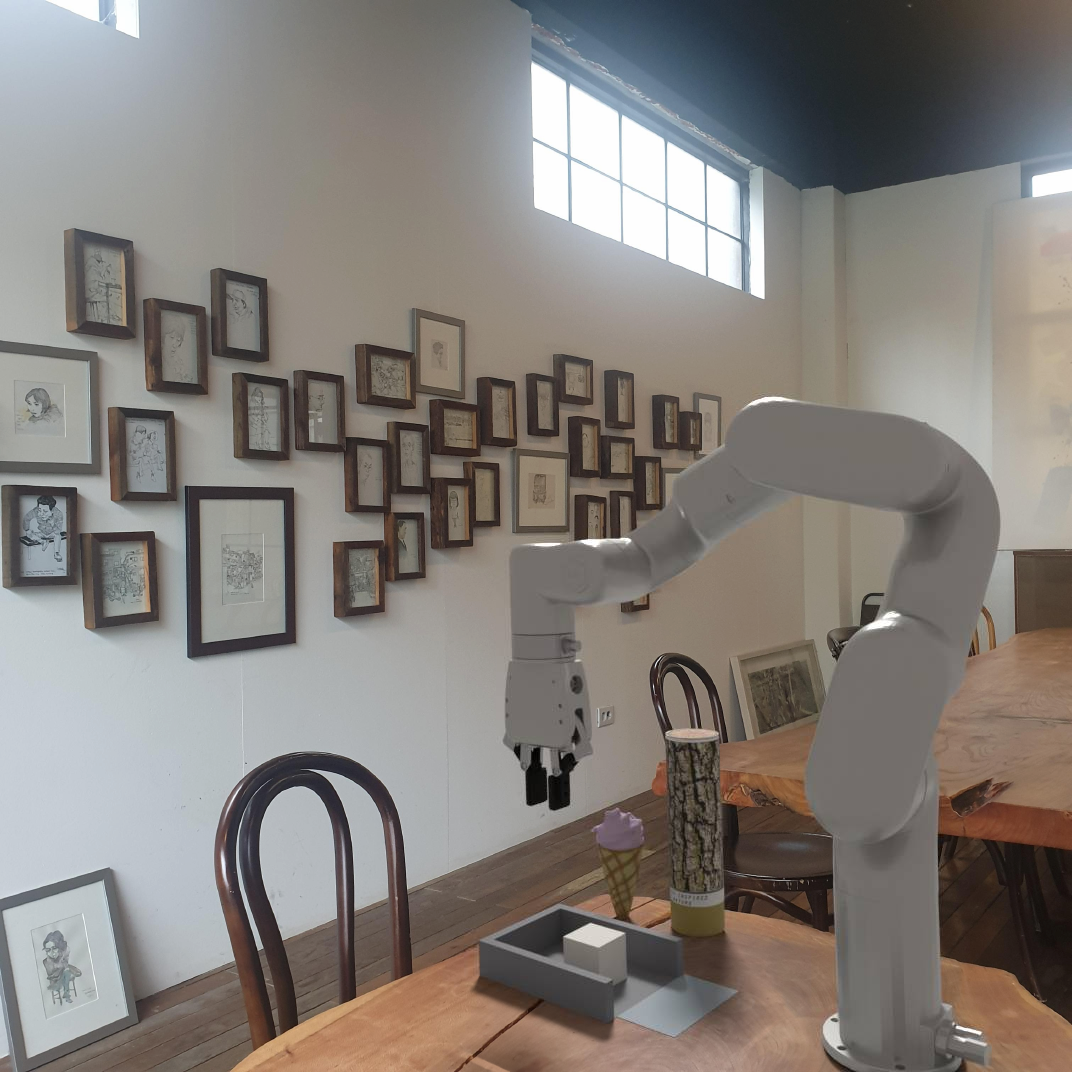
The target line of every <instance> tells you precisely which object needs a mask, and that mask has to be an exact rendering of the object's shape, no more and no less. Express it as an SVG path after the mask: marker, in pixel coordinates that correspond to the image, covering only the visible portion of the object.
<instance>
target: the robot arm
mask: <svg viewBox="0 0 1072 1072" xmlns="http://www.w3.org/2000/svg"><path fill="white" fill-rule="evenodd" d="M981 465H982V464H980V463H979V462H978V461H977V460H976V458H975V457H973V455H972V454H970V452H968V451H967V450H966V449H965V448H964V447H963V446H962V445H961V444H960V443H958V442H957V441H955V440H954V439H953V438H951V437H950V436H948V435H947V434H946V433H944V432H943V431H941V430H939V429H937V428H935V427H933V426H931V425H928V424H926V423H923V422H922V421H920V420H917V419H915V418H912V417H909V416H904V415H899V414H894V413H887V412H880V411H873V410H866V409H859V408H858V409H857V408H852V407H845V406H837V405H830V404H822V403H815V402H810V401H803V400H800V399H799V400H798V399H794V398H793V399H792V398H787V397H781V396H770V397H763V398H761V399H760V398H759V399H757V400H754V401H751V402H750V403H749V404H747V405H745V406H744V407H743V408H742V409H740V410H739V411H738V412H737V413H736V414H735V416H734V417H733V419H732V420H731V421H730V422H729V425H728V427H727V429H726V433H725V438H724V443H723V444H722V445H720V446H718V448H716V449H714V450H712V452H710V453H709V454H706V456H703V457H702V458H701V459H699V460H698V461H696V462H695V463H693V464H691V465H690V466H688V467H686V469H685V468H684V469H683V470H682V471H681V472H679V473H678V475H676V477H675V478H674V480H673V483H672V495H671V497H670V500H669V502H668V503H667V504H666V505H665V507H664V508H663V509H662V510H660V511H659V512H658V513H657V514H656V515H654V516H653V517H652V518H650V519H649V520H647V521H646V522H644V523H643V524H641V525H639V527H637V528H635V529H633V530H632V531H630V532H629V533H627V534H625V535H623V536H622V537H619V538H598V539H597V538H596V539H592V538H591V539H581V540H574V541H570V542H564V543H561V542H535V543H533V542H532V543H523V544H517V545H515V546H514V547H513V548H512V549H511V551H510V554H509V562H508V563H509V564H508V565H509V569H508V570H509V571H508V572H509V597H510V598H509V599H510V629H511V630H510V634H511V635H510V636H511V638H510V640H511V659H509V661H508V666H507V673H506V679H505V681H506V682H505V691H504V692H505V694H504V725H505V733H504V735H503V738H502V743H503V745H505V746H506V747H507V748H508V749H509V750H511V752H513V754H514V755H515V757H516V759H517V760H518V762H519V766H520V769H521V770H522V771H523V772H524V774H525V775H524V776H525V777H524V778H525V779H524V780H525V804H526V805H527V806H528V807H534V806H537V805H539V804H543V803H545V802H547V801H548V809H549V810H550V811H553V812H555V811H558V810H561V809H564V808H567V807H568V808H569V806H570V805H571V773H573V772H574V771H575V767H576V766H577V765H578V764H579V763H580V761H581V760H584V759H586V758H588V757H590V756H592V755H593V754H594V749H593V747H592V744H591V740H592V736H593V735H592V734H593V730H592V729H593V727H592V712H591V702H590V693H589V686H588V681H587V676H586V671H585V668H584V664H583V661H582V660H581V659H577V653H579V652H580V651H581V650H582V642H581V640H579V639H576V616H575V615H576V614H575V613H576V611H575V610H576V609H575V607H580V608H581V607H583V608H592V607H593V608H594V607H600V606H607V605H611V604H612V605H613V604H623V603H629V602H632V601H635V600H637V599H640V598H642V597H644V596H647V595H648V594H649V593H651V592H653V591H655V590H656V589H658V588H660V587H661V586H663V585H665V584H666V583H667V582H669V581H671V580H673V579H675V578H676V577H678V576H679V575H681V574H683V573H684V572H686V571H688V570H689V569H690V568H692V567H693V566H694V565H696V564H697V563H699V561H700V560H702V559H703V558H704V557H705V556H707V555H708V554H709V553H711V552H712V551H714V550H715V548H717V546H718V545H719V544H720V543H722V542H723V541H724V540H726V539H727V538H730V537H731V536H733V535H734V534H736V533H737V532H739V531H741V530H742V529H744V528H745V527H747V526H749V525H750V524H752V523H754V522H755V521H756V520H759V519H761V517H763V516H765V515H767V514H768V513H770V512H772V511H773V510H775V509H776V508H778V507H780V506H782V505H783V504H785V503H786V502H788V501H790V500H791V499H793V498H795V497H797V496H798V495H803V496H807V497H812V498H818V499H821V500H822V499H823V500H827V501H833V502H837V503H838V502H839V503H843V504H848V505H853V506H854V505H855V506H858V507H863V508H868V509H873V510H878V511H883V512H892V513H894V512H895V513H896V512H897V513H900V514H901V515H902V518H903V526H904V527H903V534H902V538H901V541H900V543H899V546H898V548H897V551H896V553H895V556H894V559H893V561H892V563H891V567H890V571H889V572H890V573H889V576H888V581H887V584H886V588H885V592H884V594H883V595H882V596H883V597H882V599H881V602H880V606H879V608H878V611H877V614H876V616H875V619H874V621H872V622H870V623H867V624H866V625H864V626H863V627H861V628H860V629H859V630H857V631H856V632H855V633H854V634H853V635H852V636H851V637H850V638H849V639H848V641H847V642H846V643H845V645H844V647H843V649H842V650H841V652H840V654H839V657H838V659H837V660H836V663H835V666H834V668H833V672H832V675H831V678H830V681H829V684H828V688H827V692H826V695H825V697H824V698H825V699H824V702H823V704H822V708H821V711H820V715H819V719H818V722H817V726H816V728H815V733H814V736H813V739H812V743H811V746H810V749H809V753H808V756H807V761H806V765H805V769H804V778H803V787H804V794H805V798H806V802H807V806H808V807H809V809H810V812H811V814H812V815H813V817H814V819H815V820H816V821H817V823H818V824H819V825H820V826H821V827H822V828H823V829H824V830H825V831H826V832H827V833H829V834H830V835H832V836H833V839H832V870H833V873H832V874H833V875H832V876H833V880H832V881H833V882H832V884H833V885H832V886H833V914H834V917H833V919H834V941H835V942H834V946H835V947H834V948H835V969H836V971H835V977H836V1004H837V1005H836V1006H837V1012H836V1013H834V1014H832V1015H830V1016H828V1018H827V1019H826V1020H825V1021H823V1022H824V1023H823V1024H822V1026H821V1041H822V1046H823V1047H824V1050H825V1051H826V1053H828V1054H829V1055H830V1056H831V1058H833V1060H834V1061H836V1062H838V1063H839V1064H841V1065H842V1066H843V1067H846V1068H847V1069H850V1070H851V1071H853V1072H956V1071H957V1070H959V1068H960V1066H961V1065H962V1060H963V1059H964V1060H965V1061H966V1062H970V1063H972V1064H975V1065H979V1066H982V1067H986V1068H987V1067H988V1066H989V1064H990V1059H991V1045H990V1044H989V1043H988V1042H985V1034H984V1032H983V1031H982V1030H977V1029H974V1028H970V1027H964V1026H961V1025H959V1023H958V1022H957V1021H956V1020H955V1021H954V1018H953V1015H954V1014H953V1012H954V1011H953V1005H951V1004H948V1003H945V1002H944V1003H943V1000H942V999H943V997H942V995H943V994H942V993H943V992H942V971H941V970H942V969H941V968H942V967H941V944H940V943H941V941H940V940H941V939H940V917H939V916H940V913H939V888H940V887H939V867H938V865H939V863H938V862H939V861H938V860H939V859H938V854H939V852H938V837H939V835H938V834H939V833H938V832H939V831H938V829H939V827H938V826H939V809H940V808H939V806H940V805H939V804H940V803H939V802H940V773H939V766H938V763H937V759H936V756H935V753H934V751H933V749H932V748H933V744H934V741H935V738H936V735H937V731H938V728H939V725H940V722H941V720H942V717H943V713H944V710H945V709H946V708H945V707H946V706H947V705H948V704H949V703H950V702H951V701H952V700H953V699H954V698H955V696H956V695H957V694H958V692H959V690H960V689H961V687H962V684H963V681H964V676H965V671H966V666H967V661H968V658H969V653H970V651H971V646H972V643H973V639H974V636H975V632H976V629H977V627H978V622H979V619H980V617H981V613H982V610H983V605H984V603H985V602H984V601H985V598H986V593H987V590H988V586H989V583H990V579H991V577H992V576H991V575H992V572H993V568H994V565H995V562H996V557H997V553H998V549H999V548H998V547H999V543H1000V537H1001V511H1000V510H1001V509H1000V505H999V501H998V500H999V499H998V496H997V494H996V493H997V492H996V491H995V487H994V485H993V483H992V481H991V479H990V477H989V475H988V474H987V472H986V470H985V469H984V468H983V467H982V466H981ZM576 652H577V653H576ZM573 744H574V747H573ZM544 749H549V755H550V768H551V774H550V775H548V770H547V767H546V766H543V764H544Z"/></svg>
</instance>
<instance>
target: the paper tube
mask: <svg viewBox="0 0 1072 1072" xmlns="http://www.w3.org/2000/svg"><path fill="white" fill-rule="evenodd" d="M664 737H665V740H664V741H665V746H664V747H665V775H666V776H665V777H666V778H665V779H666V780H665V781H666V803H667V804H666V805H667V808H666V809H667V810H666V811H667V835H668V837H667V838H668V839H667V841H668V873H669V874H668V875H669V898H670V926H671V928H672V929H673V931H675V932H676V933H679V934H681V935H683V936H687V937H692V938H693V937H694V938H706V937H707V938H708V937H714V936H717V935H719V934H722V933H723V932H724V930H725V927H726V922H725V921H726V918H725V917H726V915H725V914H726V913H725V883H724V882H725V880H724V878H725V877H724V851H723V850H724V849H723V848H724V846H723V826H722V825H723V819H722V815H723V814H722V786H721V785H722V784H721V758H720V757H721V756H720V755H721V754H720V752H721V751H720V736H719V732H718V731H715V730H712V729H706V728H678V729H672V730H668V731H666V732H665V736H664Z"/></svg>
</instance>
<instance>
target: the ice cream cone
mask: <svg viewBox="0 0 1072 1072" xmlns="http://www.w3.org/2000/svg"><path fill="white" fill-rule="evenodd" d="M604 815H605V817H603V822H602V823H600V824H598V825H594V826H593V828H592V829H590V831H591V832H592V833H594V832H596V833H597V834H596V837H595V839H596V845H597V848H598V852H599V854H598V855H599V859H600V861H601V867H602V870H603V875H604V879H605V882H606V886H607V889H608V893H609V896H610V900H611V903H612V907H613V909H614V913H615V916H616V918H617V920H619V919H620V920H626V919H629V918H630V914H631V910H632V906H633V901H634V899H635V898H634V897H635V893H636V888H637V883H638V879H639V873H640V868H641V863H642V858H643V856H642V855H643V849H644V841H645V838H644V827H643V820H642V819H641V818H637V817H635V815H633V814H632V812H630V811H628V812H627V813H626V812H622V811H621V810H620V808H619V807H616V808H615V809H613V810H607V811H605V812H604Z"/></svg>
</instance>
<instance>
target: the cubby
mask: <svg viewBox="0 0 1072 1072" xmlns="http://www.w3.org/2000/svg"><path fill="white" fill-rule="evenodd" d="M589 923H592V924H596V925H599V926H603V927H606V928H610V929H613V930H617V931H620V932H623V933H626V962H627V978H626V979H624V980H622V981H621V982H619V983H617V984H616V985H614V986H613V979H610V978H607V977H604V976H601V975H598V974H595V973H592V972H589V971H586V970H583V969H580V968H577V967H574V966H571V965H568V964H565V963H564V948H563V937H564V936H566V935H568V934H570V933H572V932H573V931H575V930H577V929H579V928H581V927H583V926H585V925H587V924H589ZM683 940H684V939H683V938H682V937H680V936H675V935H671V934H670V933H666V932H661V931H658V930H654V929H651V928H648V927H644V926H641V925H637V924H633V923H630V922H626V921H622V920H619V919H615V918H611V917H609V916H605V915H601V914H598V913H595V912H591V911H588V910H587V911H586V910H584V909H580V908H575V907H573V906H570V905H566V904H562V903H557V904H554V905H553V906H551V907H548V908H547V909H544V910H541V911H540V912H537V913H535V914H533V915H531V916H528V917H526V918H524V919H523V920H520V921H518V922H516V923H514V924H510V925H508V926H507V927H504V928H503V929H501V930H498V931H496V932H494V933H492V934H490V935H488V936H485V937H483V938H480V939H478V963H479V964H478V966H479V968H478V969H479V977H481V978H484V979H487V980H489V981H493V982H494V983H497V984H500V985H503V986H506V987H508V988H511V989H513V990H516V991H520V992H521V993H525V994H527V995H530V996H531V997H535V998H538V999H541V1000H544V1001H546V1002H549V1003H551V1004H554V1005H556V1006H559V1007H562V1008H564V1009H567V1010H570V1011H573V1012H575V1013H578V1014H580V1015H583V1016H586V1017H589V1018H591V1019H593V1020H597V1021H599V1022H602V1023H604V1024H608V1023H610V1022H612V1021H613V1020H615V1019H616V1018H618V1019H621V1020H623V1021H626V1022H629V1023H632V1024H635V1025H638V1026H641V1027H643V1028H645V1029H649V1030H652V1031H653V1032H657V1033H659V1034H662V1035H664V1036H665V1035H666V1036H668V1037H670V1038H674V1039H675V1038H677V1037H678V1036H679V1035H681V1034H682V1033H683V1032H685V1031H687V1030H688V1029H689V1028H690V1027H692V1026H693V1025H695V1024H696V1023H697V1022H699V1021H700V1020H702V1019H703V1018H704V1017H705V1016H707V1015H709V1014H710V1013H711V1012H713V1011H714V1010H715V1009H717V1008H718V1007H720V1005H722V1004H723V1003H725V1002H726V1001H727V1000H729V999H731V998H732V997H733V996H735V995H736V994H738V993H739V992H740V991H739V990H738V989H737V990H736V989H734V988H731V987H728V986H724V985H721V984H718V983H714V982H711V981H708V980H705V979H701V978H698V977H695V976H692V975H689V974H686V973H684V972H685V971H684V970H685V969H684V968H685V967H684V943H683Z"/></svg>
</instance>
